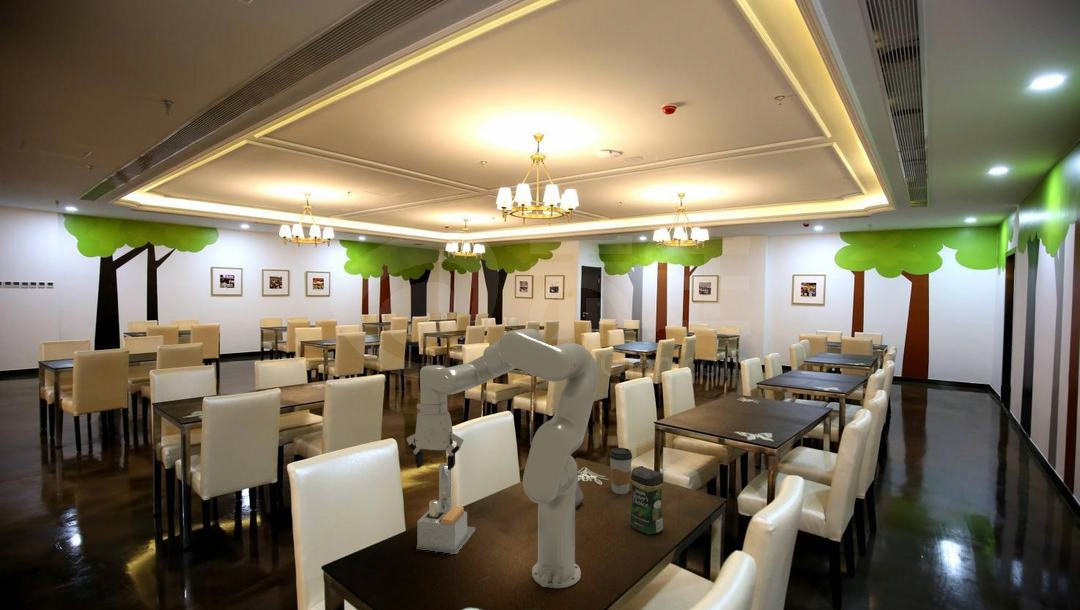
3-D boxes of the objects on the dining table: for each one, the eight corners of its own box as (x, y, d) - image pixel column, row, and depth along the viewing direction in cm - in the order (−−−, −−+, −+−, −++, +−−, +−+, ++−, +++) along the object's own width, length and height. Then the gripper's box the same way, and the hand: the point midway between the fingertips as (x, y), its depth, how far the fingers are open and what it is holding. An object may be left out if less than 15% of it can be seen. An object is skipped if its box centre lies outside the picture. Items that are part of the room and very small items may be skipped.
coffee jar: (626, 526, 159) (626, 467, 158) (642, 519, 164) (643, 462, 163) (650, 538, 151) (650, 476, 151) (667, 530, 156) (667, 470, 156)
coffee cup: (635, 489, 188) (635, 449, 188) (626, 497, 181) (627, 455, 181) (614, 485, 193) (614, 445, 192) (605, 492, 186) (605, 451, 185)
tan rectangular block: (451, 548, 142) (451, 520, 142) (441, 547, 143) (441, 519, 143) (463, 533, 151) (463, 507, 151) (453, 532, 152) (453, 506, 152)
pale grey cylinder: (437, 531, 147) (436, 503, 146) (428, 530, 147) (427, 503, 147) (441, 527, 149) (440, 500, 149) (432, 526, 150) (431, 499, 150)
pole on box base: (456, 554, 141) (456, 483, 141) (416, 549, 144) (416, 479, 144) (475, 530, 156) (475, 465, 156) (438, 526, 159) (438, 462, 158)
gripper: (400, 410, 146) (401, 470, 146) (457, 412, 142) (458, 473, 142) (412, 405, 153) (414, 461, 153) (466, 406, 149) (468, 464, 149)
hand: (435, 467), depth 148 cm, fingers open, 9 cm apart
